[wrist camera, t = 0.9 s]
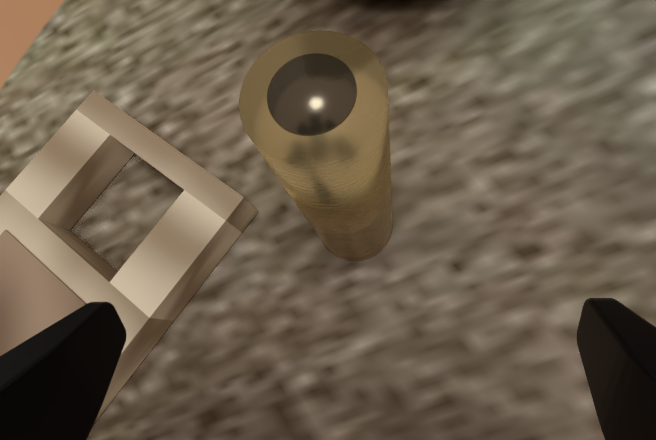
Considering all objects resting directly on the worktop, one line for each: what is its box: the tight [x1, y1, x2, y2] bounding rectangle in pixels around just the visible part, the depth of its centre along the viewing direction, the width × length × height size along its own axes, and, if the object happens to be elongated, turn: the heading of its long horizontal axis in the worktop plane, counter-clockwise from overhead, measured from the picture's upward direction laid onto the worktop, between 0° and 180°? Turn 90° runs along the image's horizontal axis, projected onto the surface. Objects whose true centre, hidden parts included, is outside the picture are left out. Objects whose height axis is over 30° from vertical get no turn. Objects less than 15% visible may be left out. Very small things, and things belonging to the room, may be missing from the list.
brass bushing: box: [239, 31, 393, 261], centre depth 18 cm, size 4×4×13 cm
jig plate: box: [0, 90, 258, 422], centre depth 24 cm, size 20×12×3 cm, turn 143°
